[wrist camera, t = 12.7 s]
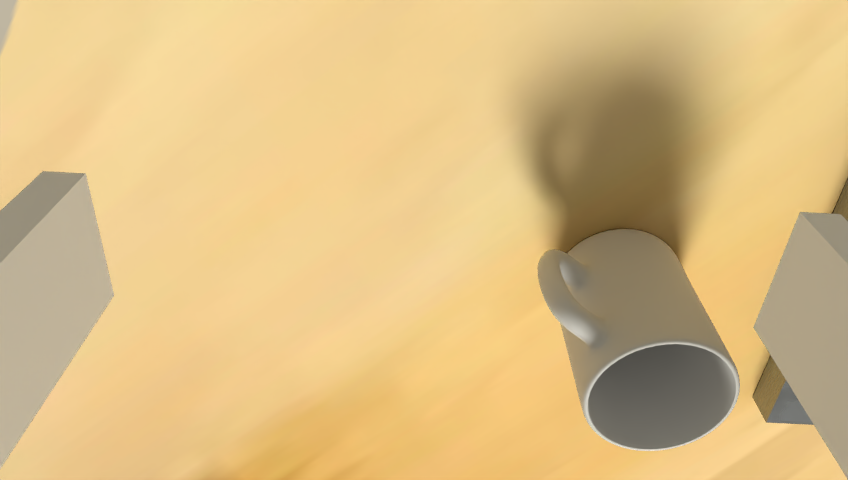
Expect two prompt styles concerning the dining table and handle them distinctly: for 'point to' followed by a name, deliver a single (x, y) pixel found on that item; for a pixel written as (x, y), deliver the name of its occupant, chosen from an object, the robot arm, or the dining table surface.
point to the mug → (638, 341)
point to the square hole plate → (773, 387)
